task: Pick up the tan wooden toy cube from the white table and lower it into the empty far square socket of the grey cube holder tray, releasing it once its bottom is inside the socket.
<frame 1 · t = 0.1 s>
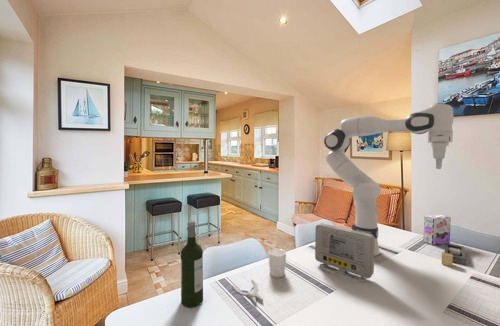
hand: (438, 168, 110), 48 cm above the table, fingers open, 8 cm apart
cube in holder slot: (454, 259, 122), resting in grey cube holder tray
grey cube holder tray: (454, 255, 126), on the table
candy box: (436, 243, 144), on the table
tan wooden toy cube: (446, 264, 116), on the table
white cup: (277, 274, 107), on the table
pliers: (250, 294, 93), on the table
wine bottle: (192, 301, 87), on the table
network device: (342, 272, 109), on the table
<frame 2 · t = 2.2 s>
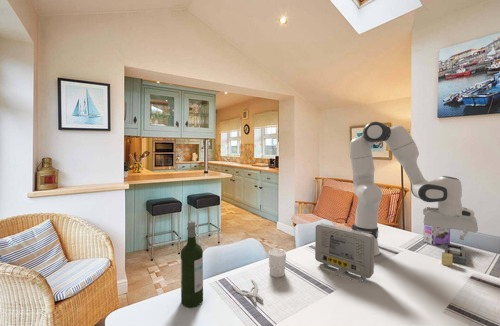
hand: (449, 237, 115), 14 cm above the table, fingers open, 8 cm apart
nothing on the table moved.
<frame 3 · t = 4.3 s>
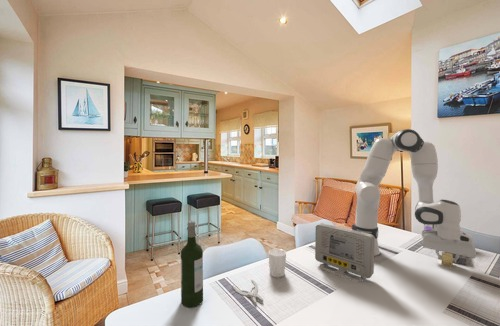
hand: (446, 260, 116), 2 cm above the table, fingers closed on tan wooden toy cube, 4 cm apart
tan wooden toy cube: (446, 264, 116), on the table, touching gripper
everything else where it was.
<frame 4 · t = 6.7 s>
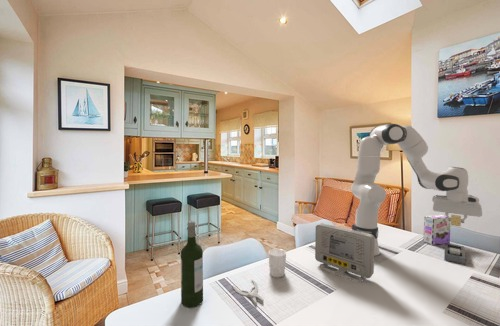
hand: (455, 221, 128), 17 cm above the table, fingers closed on tan wooden toy cube, 4 cm apart
tan wooden toy cube: (455, 224, 129), point 16 cm above the table, touching gripper
everything else where it was.
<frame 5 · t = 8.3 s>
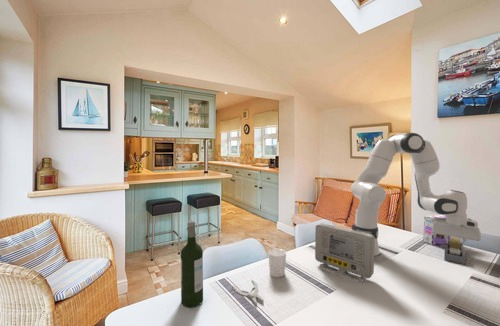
hand: (454, 244, 129), 5 cm above the table, fingers closed on tan wooden toy cube, 4 cm apart
tan wooden toy cube: (454, 247, 129), point 3 cm above the table, touching gripper
everything else where it was.
when the fingers open (4 cm above the table, at t = 9.2 s): tan wooden toy cube drops 2 cm, resting in grey cube holder tray.
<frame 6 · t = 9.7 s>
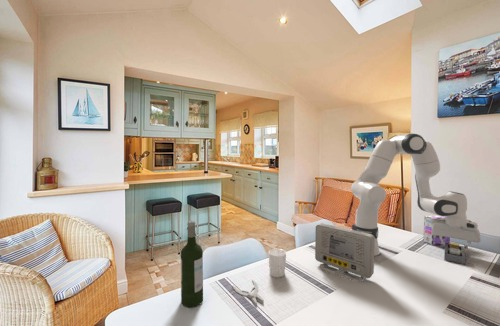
hand: (454, 246, 129), 4 cm above the table, fingers open, 8 cm apart
tan wooden toy cube: (454, 252, 129), resting in grey cube holder tray
everything else where it was.
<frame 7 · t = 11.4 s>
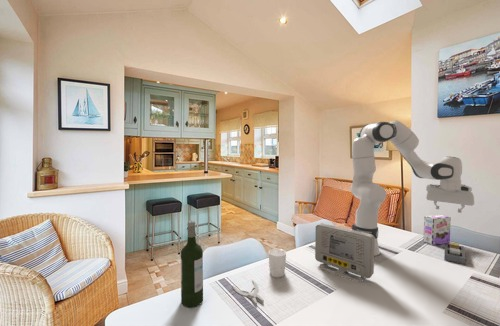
hand: (448, 210, 130), 23 cm above the table, fingers open, 8 cm apart
nothing on the table moved.
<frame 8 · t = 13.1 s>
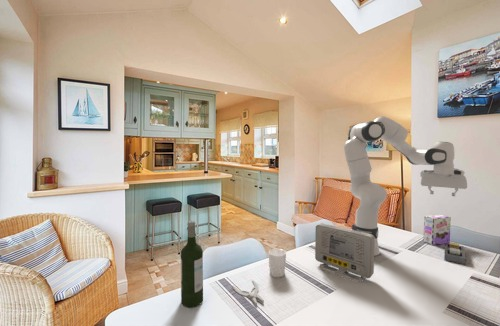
hand: (442, 195, 133), 31 cm above the table, fingers open, 8 cm apart
nothing on the table moved.
at the end: tan wooden toy cube 0.0 cm from the target spot on the grey cube holder tray, point 0.0 cm above the grey cube holder tray's base; the gripper is holding nothing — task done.
